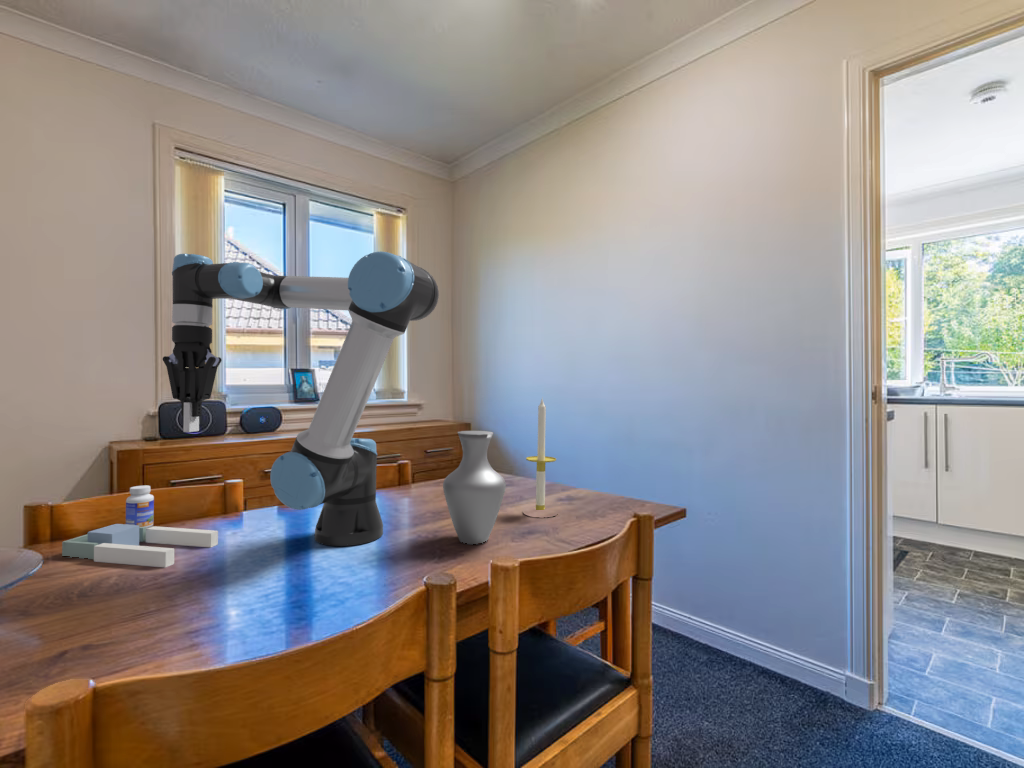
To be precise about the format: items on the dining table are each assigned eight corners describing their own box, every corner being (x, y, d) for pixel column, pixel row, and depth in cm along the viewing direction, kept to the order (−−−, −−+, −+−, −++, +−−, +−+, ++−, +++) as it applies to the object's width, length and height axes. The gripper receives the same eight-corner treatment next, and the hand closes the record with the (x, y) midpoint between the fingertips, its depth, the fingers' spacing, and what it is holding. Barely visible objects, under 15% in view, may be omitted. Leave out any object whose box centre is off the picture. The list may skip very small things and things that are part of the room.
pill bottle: (138, 531, 115) (138, 490, 115) (119, 529, 116) (120, 488, 116) (159, 524, 121) (159, 485, 121) (141, 523, 122) (141, 484, 122)
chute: (217, 544, 107) (218, 530, 107) (165, 567, 94) (165, 551, 94) (153, 539, 110) (153, 526, 110) (93, 561, 96) (93, 546, 96)
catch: (146, 540, 109) (146, 527, 109) (94, 559, 98) (94, 544, 98) (116, 538, 110) (116, 525, 110) (62, 556, 99) (62, 541, 99)
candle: (534, 506, 144) (536, 396, 144) (564, 512, 138) (566, 397, 138) (515, 514, 136) (517, 396, 136) (545, 520, 130) (548, 398, 130)
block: (139, 546, 106) (139, 525, 106) (111, 556, 100) (112, 534, 100) (115, 544, 107) (115, 523, 107) (87, 553, 101) (87, 532, 101)
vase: (517, 540, 114) (519, 432, 114) (471, 555, 103) (473, 437, 103) (475, 526, 124) (476, 427, 123) (429, 539, 113) (430, 431, 113)
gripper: (230, 327, 112) (229, 430, 112) (180, 327, 114) (179, 428, 114) (205, 323, 105) (204, 434, 105) (152, 323, 107) (150, 432, 107)
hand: (191, 431), depth 110 cm, fingers closed
